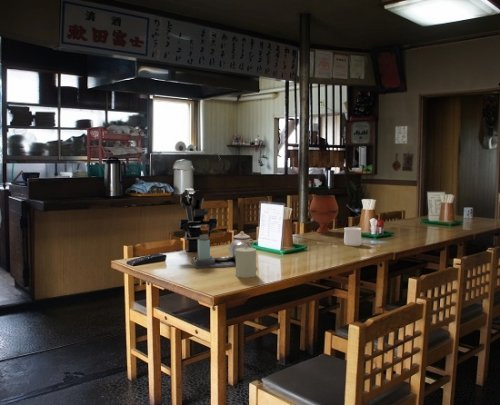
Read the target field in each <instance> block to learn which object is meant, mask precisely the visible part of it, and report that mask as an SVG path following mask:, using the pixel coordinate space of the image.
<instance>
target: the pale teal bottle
mask: <svg viewBox="0 0 500 405" xmlns="http://www.w3.org/2000/svg"><path fill="white" fill-rule="evenodd" d="M210 256H211V240H210V239H209V236H208V234H202V235H200V239H198V252H197V259H198V260H210Z"/></svg>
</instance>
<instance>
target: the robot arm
mask: <svg viewBox="0 0 500 405" xmlns="http://www.w3.org/2000/svg"><path fill="white" fill-rule="evenodd" d="M204 200H205V194H204V193H202V191H201V192H200V190H194V188H185V189H184V191H183V192H182V193H181V194H180V198H179V202H180V205H181V208H183V209H184V210H185V214H186V218H181V219H180V220H179V229H180V230H181V231H184V232H185V233H184V239H185V241H187V249H186V250H185V252H190V253H191V252H193V253H198V239H200V235H204V234H203V233H204V231H203V229H202V228H201V226H207V235H208V238H211V232H212V230H214V229H216V228H217V225H218V219H217V218H216V217H209V218H208V220H205V216H207V215H208V214H209V210H208V208H207V207H203V208H202V206H203V203H204Z"/></svg>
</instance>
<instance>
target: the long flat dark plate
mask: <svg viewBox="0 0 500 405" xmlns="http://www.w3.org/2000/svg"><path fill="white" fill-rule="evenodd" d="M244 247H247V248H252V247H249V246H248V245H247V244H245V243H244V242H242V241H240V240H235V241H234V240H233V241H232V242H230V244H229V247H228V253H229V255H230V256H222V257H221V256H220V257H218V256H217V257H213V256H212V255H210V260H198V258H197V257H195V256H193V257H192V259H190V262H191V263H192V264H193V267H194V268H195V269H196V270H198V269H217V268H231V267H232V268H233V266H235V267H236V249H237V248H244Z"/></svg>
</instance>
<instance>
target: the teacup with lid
mask: <svg viewBox="0 0 500 405" xmlns="http://www.w3.org/2000/svg"><path fill="white" fill-rule="evenodd" d="M235 240H240V241H242V242H244V243H245V244H247V245H248V246H249V247H251V248H253V246H254V239H252V238H251V236H250V235H248V234H246V233H245V232H244V231H240V232H239V233H237V234H236V235H234V236H233V241H235ZM250 243H251V244H250Z"/></svg>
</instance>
